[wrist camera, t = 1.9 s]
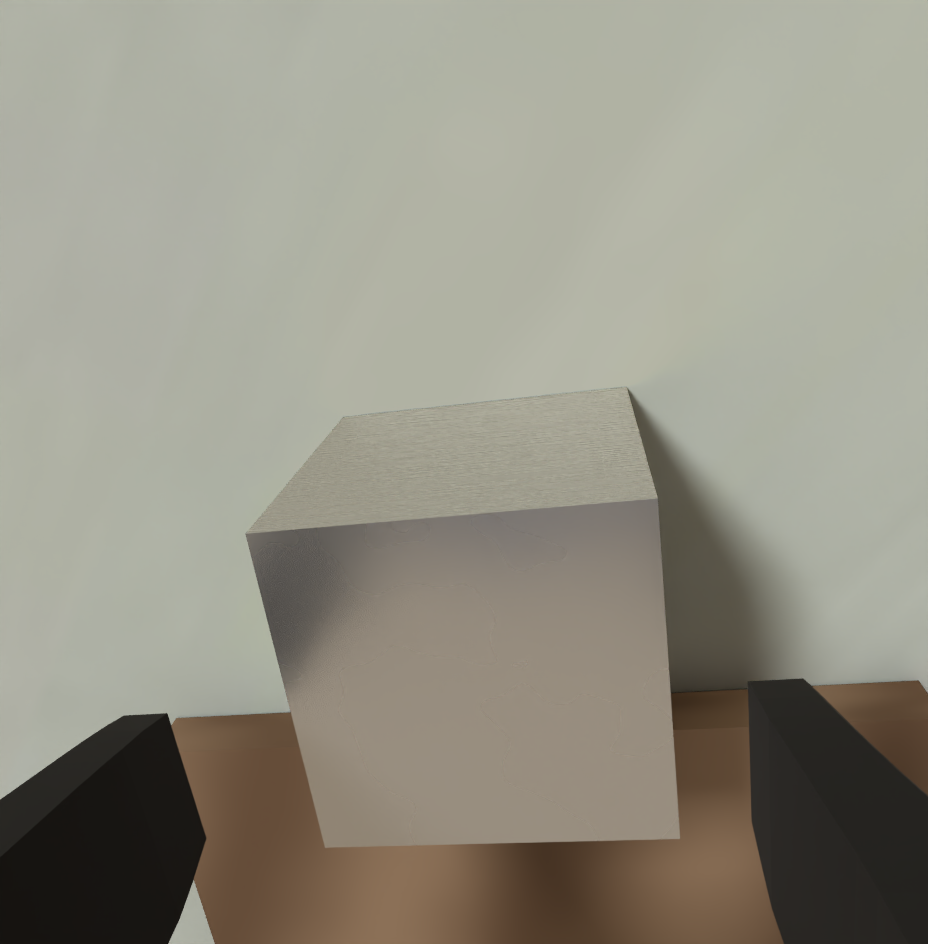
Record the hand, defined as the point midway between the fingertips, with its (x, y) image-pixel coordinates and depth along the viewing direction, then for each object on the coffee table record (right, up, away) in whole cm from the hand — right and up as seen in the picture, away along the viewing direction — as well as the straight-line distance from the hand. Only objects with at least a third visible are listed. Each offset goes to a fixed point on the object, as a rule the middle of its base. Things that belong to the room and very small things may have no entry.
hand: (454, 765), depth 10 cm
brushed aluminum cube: (+1, +2, +6) cm, 7 cm away
